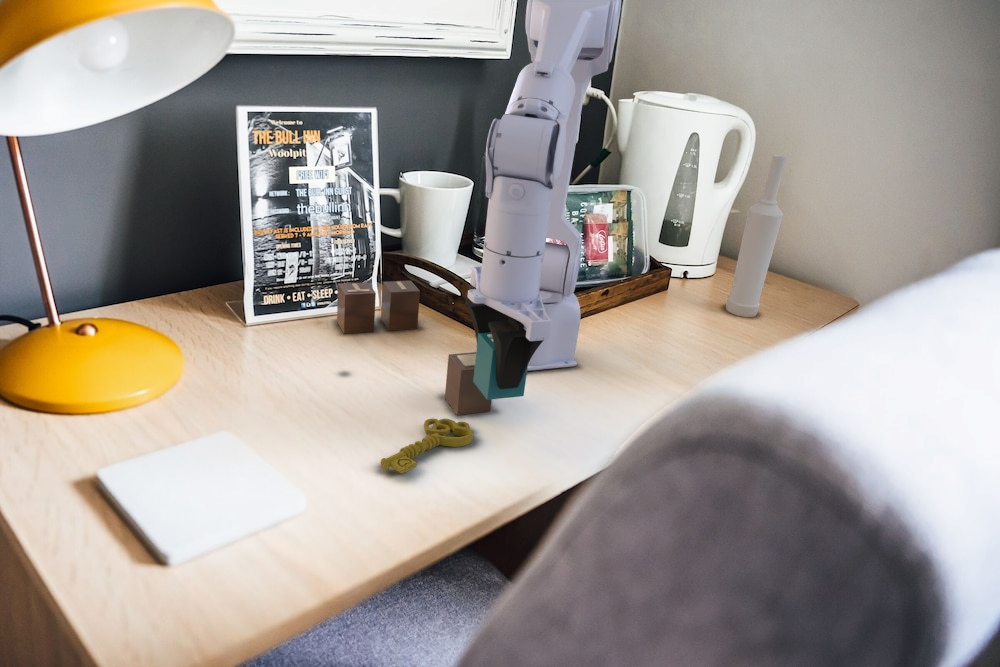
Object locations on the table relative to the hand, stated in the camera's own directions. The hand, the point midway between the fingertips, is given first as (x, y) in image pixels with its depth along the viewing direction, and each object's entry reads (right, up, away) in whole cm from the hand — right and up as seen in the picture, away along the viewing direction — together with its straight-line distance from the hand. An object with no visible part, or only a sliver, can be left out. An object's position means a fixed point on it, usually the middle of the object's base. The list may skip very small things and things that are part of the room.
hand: (498, 376), depth 78 cm
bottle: (+39, +8, +46) cm, 61 cm away
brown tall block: (-4, -4, +8) cm, 10 cm away
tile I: (-14, +6, +27) cm, 31 cm away
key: (-7, -7, -1) cm, 10 cm away
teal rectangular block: (0, -1, +1) cm, 1 cm away
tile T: (-19, +5, +24) cm, 31 cm away
